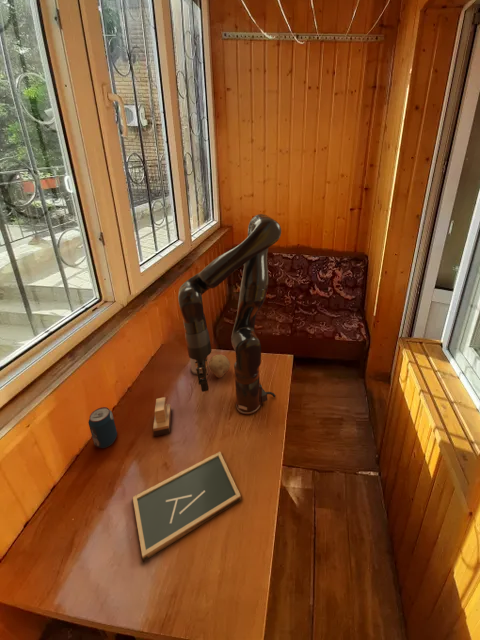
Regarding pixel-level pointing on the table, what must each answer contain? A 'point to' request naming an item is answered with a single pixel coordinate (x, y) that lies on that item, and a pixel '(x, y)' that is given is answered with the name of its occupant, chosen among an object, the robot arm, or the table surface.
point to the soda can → (102, 427)
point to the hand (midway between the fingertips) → (205, 382)
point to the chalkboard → (183, 503)
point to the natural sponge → (219, 365)
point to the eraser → (162, 417)
